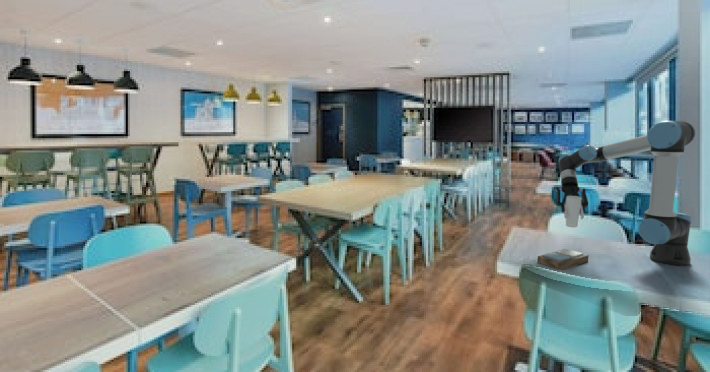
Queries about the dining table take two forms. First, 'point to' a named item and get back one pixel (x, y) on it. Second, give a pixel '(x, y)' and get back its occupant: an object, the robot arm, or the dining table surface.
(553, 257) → the slate key
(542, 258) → the keyguard frame
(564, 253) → the cream key
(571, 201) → the drinking glass
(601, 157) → the robot arm
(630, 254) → the dining table surface
